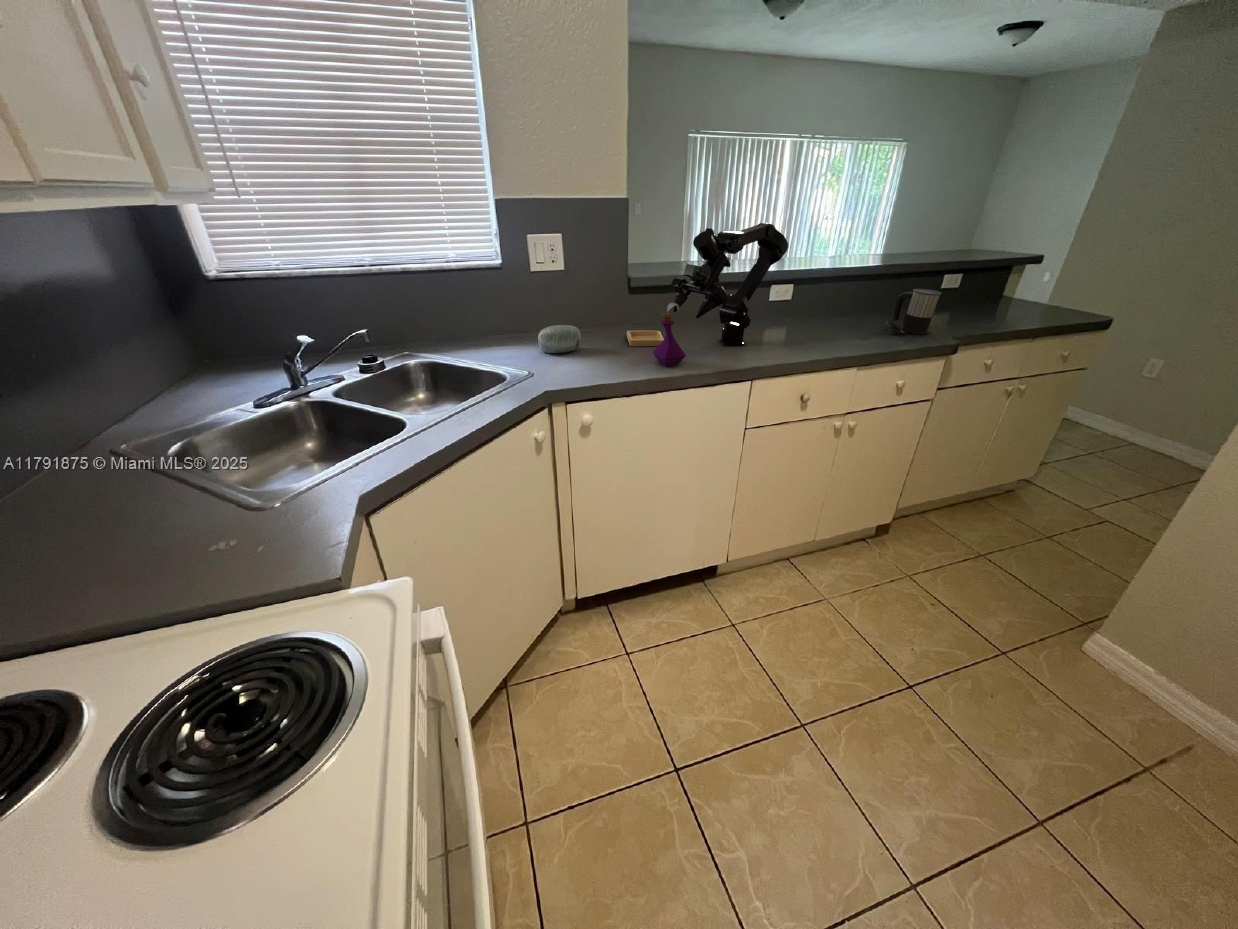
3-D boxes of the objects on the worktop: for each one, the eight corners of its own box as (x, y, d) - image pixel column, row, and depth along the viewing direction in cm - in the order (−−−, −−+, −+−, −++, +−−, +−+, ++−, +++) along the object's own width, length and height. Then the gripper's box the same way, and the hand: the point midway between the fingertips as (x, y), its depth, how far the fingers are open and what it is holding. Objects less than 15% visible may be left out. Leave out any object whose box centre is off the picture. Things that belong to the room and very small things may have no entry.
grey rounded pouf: (579, 334, 161) (574, 311, 152) (586, 355, 156) (580, 332, 148) (540, 345, 161) (532, 323, 152) (545, 366, 156) (537, 345, 147)
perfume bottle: (664, 369, 143) (668, 307, 134) (651, 361, 149) (654, 301, 140) (685, 366, 146) (690, 304, 137) (671, 358, 152) (676, 299, 143)
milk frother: (928, 330, 186) (942, 290, 179) (925, 340, 175) (940, 297, 167) (888, 324, 193) (899, 285, 185) (882, 333, 181) (894, 292, 174)
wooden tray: (658, 336, 173) (659, 330, 172) (664, 345, 163) (664, 340, 162) (626, 336, 172) (626, 330, 171) (630, 346, 162) (630, 340, 161)
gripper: (676, 248, 146) (649, 293, 146) (725, 256, 134) (696, 304, 134) (692, 272, 154) (667, 314, 154) (740, 281, 142) (713, 326, 143)
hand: (684, 314), depth 146 cm, fingers open, 9 cm apart
